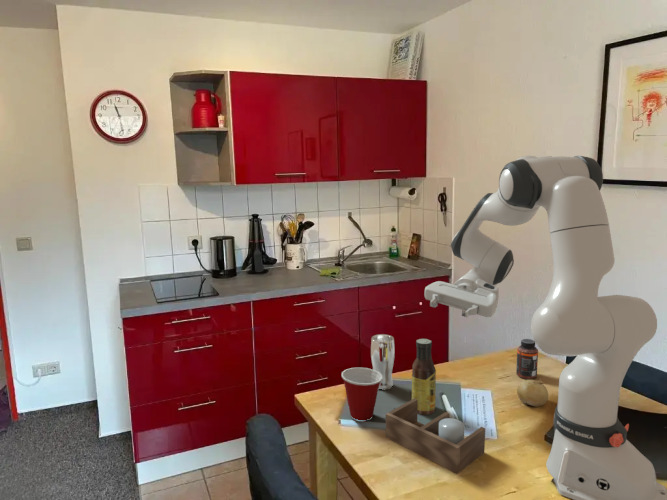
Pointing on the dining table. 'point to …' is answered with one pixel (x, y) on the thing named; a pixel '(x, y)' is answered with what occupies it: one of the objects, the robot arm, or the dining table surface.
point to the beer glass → (383, 358)
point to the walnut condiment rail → (432, 438)
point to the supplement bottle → (527, 359)
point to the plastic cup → (361, 391)
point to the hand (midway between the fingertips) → (448, 309)
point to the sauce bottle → (424, 378)
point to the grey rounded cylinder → (451, 430)
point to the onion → (532, 392)
